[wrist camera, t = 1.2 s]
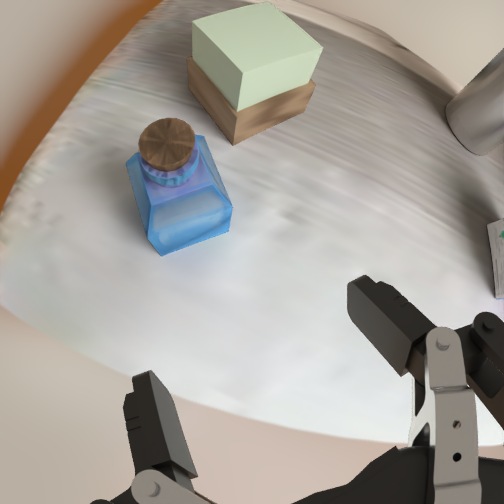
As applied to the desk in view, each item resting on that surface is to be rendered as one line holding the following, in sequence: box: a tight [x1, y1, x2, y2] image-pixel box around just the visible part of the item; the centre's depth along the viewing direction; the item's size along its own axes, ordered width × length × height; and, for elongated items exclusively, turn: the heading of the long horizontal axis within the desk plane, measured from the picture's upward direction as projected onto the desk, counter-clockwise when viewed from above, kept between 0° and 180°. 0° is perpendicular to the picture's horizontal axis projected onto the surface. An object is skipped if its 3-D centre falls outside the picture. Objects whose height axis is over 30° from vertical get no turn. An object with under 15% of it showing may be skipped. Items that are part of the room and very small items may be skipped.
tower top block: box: [192, 1, 323, 112], centre depth 24 cm, size 8×8×5 cm
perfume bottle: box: [126, 118, 233, 256], centre depth 22 cm, size 6×6×12 cm
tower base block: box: [187, 56, 316, 145], centre depth 29 cm, size 9×9×5 cm
